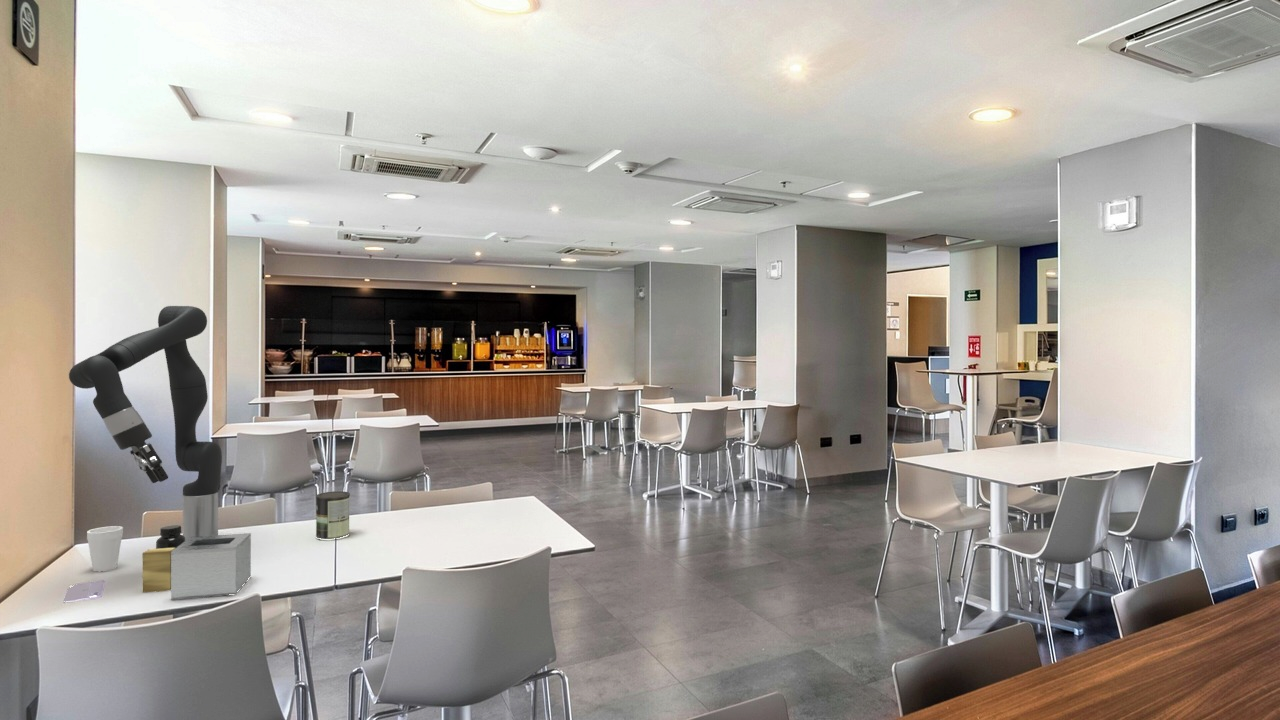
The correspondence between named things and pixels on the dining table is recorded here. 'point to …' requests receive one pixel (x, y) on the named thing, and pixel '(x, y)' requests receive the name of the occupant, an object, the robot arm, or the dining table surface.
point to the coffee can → (332, 514)
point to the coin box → (210, 566)
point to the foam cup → (104, 547)
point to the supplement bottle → (170, 537)
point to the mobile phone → (85, 591)
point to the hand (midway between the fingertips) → (160, 480)
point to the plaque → (157, 570)
